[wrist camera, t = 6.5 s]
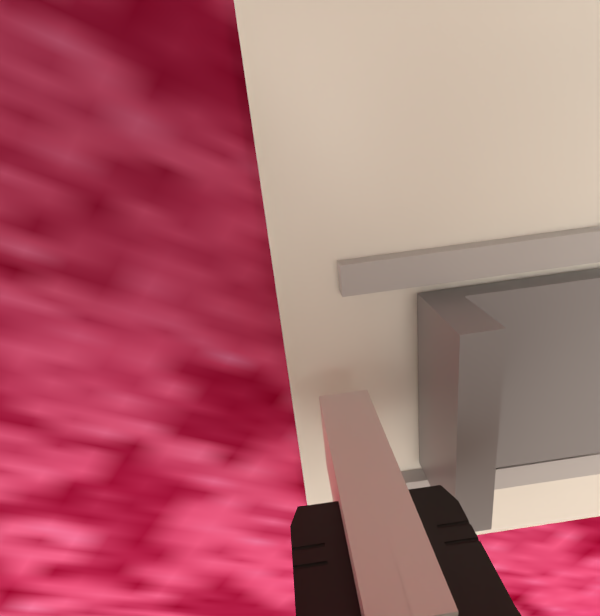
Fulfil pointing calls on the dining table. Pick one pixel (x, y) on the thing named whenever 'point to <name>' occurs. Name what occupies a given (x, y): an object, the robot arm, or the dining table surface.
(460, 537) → the robot arm
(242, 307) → the dining table surface
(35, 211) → the dining table surface
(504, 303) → the shutter
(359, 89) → the socket board
